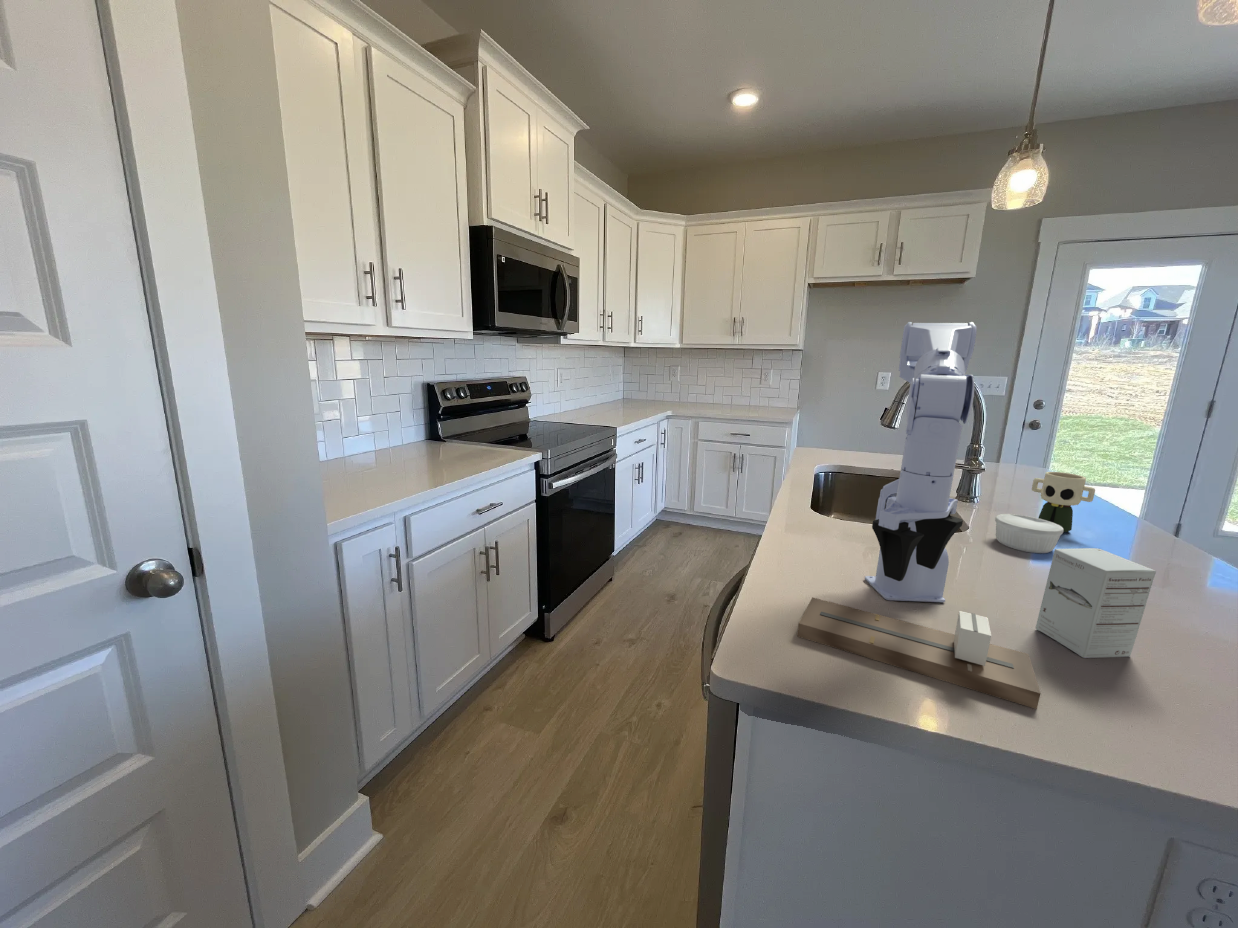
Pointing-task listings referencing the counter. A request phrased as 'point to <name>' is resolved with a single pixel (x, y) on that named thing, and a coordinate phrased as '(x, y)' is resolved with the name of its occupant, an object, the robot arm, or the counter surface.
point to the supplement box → (1094, 602)
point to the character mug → (1061, 496)
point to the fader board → (919, 651)
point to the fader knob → (972, 638)
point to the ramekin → (1027, 533)
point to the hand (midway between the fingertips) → (909, 571)
